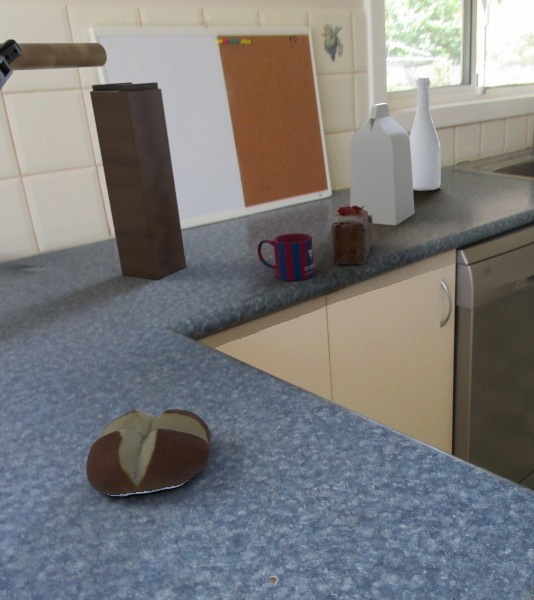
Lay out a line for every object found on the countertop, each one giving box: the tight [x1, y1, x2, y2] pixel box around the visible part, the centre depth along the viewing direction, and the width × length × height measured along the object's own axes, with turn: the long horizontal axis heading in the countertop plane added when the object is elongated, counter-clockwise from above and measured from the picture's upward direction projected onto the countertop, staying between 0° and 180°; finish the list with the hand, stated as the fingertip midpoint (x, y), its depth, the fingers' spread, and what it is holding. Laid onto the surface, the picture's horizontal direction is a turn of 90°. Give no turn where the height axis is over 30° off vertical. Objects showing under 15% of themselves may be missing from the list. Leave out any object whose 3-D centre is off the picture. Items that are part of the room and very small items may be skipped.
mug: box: [257, 232, 315, 282], centre depth 118 cm, size 7×10×7 cm
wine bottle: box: [409, 77, 442, 192], centre depth 185 cm, size 10×10×30 cm
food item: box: [330, 205, 374, 266], centre depth 128 cm, size 14×8×10 cm, turn 1°
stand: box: [89, 81, 187, 281], centre depth 117 cm, size 8×8×33 cm
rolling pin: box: [0, 42, 108, 72], centre depth 98 cm, size 20×4×4 cm, turn 156°
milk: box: [349, 102, 415, 226], centre depth 153 cm, size 12×12×26 cm
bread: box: [85, 408, 212, 495], centre depth 64 cm, size 11×11×5 cm
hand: (5, 45), depth 93 cm, fingers closed on rolling pin, 3 cm apart
